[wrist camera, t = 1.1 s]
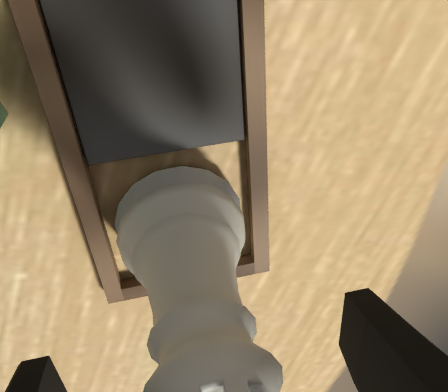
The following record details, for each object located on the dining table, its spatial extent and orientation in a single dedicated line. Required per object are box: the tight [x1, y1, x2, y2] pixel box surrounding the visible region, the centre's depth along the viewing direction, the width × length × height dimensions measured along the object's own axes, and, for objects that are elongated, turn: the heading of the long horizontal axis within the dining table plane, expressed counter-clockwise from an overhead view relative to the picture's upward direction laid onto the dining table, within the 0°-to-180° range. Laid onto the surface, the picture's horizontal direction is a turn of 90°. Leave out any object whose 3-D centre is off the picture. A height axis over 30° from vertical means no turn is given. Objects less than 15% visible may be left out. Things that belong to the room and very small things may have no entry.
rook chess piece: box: [114, 166, 283, 392], centre depth 12 cm, size 4×4×8 cm
